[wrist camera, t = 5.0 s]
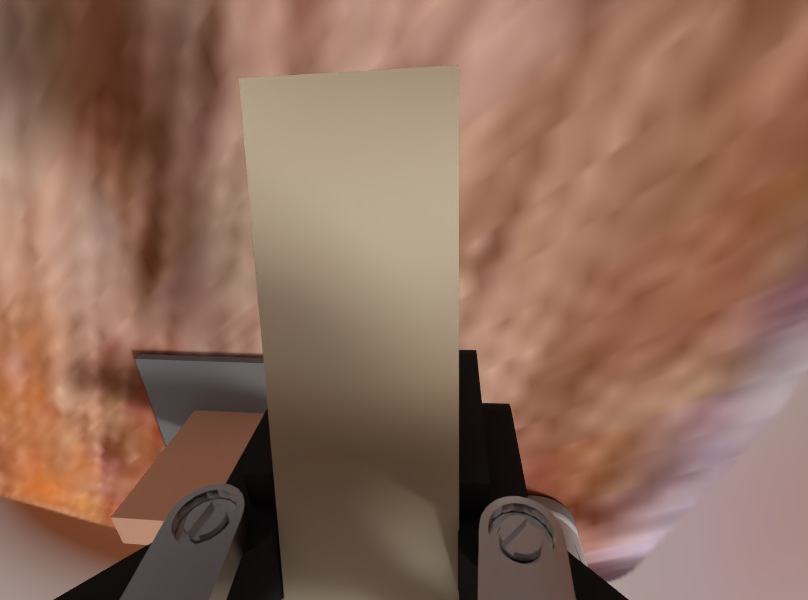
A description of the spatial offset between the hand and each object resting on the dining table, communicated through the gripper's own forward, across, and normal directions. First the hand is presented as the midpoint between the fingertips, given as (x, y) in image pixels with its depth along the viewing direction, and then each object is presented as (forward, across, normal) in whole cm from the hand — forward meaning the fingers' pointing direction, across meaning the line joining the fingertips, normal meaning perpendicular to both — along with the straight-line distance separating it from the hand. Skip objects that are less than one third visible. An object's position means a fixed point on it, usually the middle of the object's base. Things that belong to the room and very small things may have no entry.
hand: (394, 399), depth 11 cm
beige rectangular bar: (0, 0, +3) cm, 3 cm away
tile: (+12, +11, +13) cm, 21 cm away
